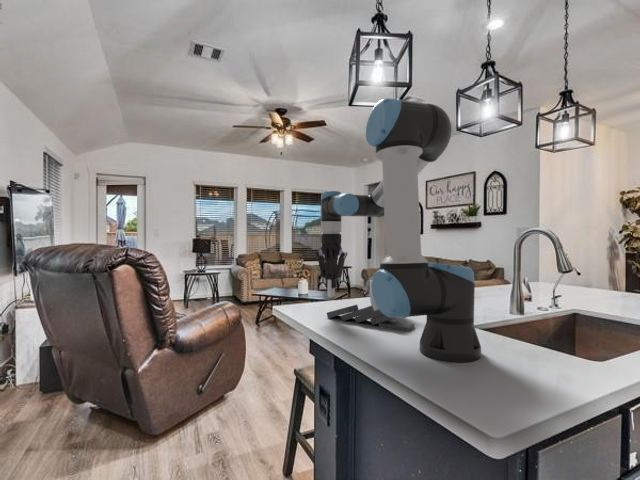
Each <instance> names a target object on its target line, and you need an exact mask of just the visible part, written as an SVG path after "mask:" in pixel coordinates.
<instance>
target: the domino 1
mask: <svg viewBox="0 0 640 480" xmlns="http://www.w3.org/2000/svg"><path fill="white" fill-rule="evenodd" d="M358 306H359V305H358V304H354V305H350V306H345V307H343V308H339V309H335V310H332V311H329V312H326V316H327V319H330V318H334V317H337V316H341V315H344V314H347V313H351V312H354V311H357V310H360V309H359V307H358Z"/></svg>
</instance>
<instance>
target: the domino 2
mask: <svg viewBox="0 0 640 480" xmlns="http://www.w3.org/2000/svg"><path fill="white" fill-rule="evenodd" d="M373 311H374V309H373V306H372V305H370V306H367V307H363V308H360V309H359V310H357V311H353V312H350V313H346V314H342V315H340V318H341V320H342V322H345V321H348V320H350V319H355V317H358V316H361V315H364V314H367V313H370V312H373Z"/></svg>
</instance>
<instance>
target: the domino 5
mask: <svg viewBox="0 0 640 480" xmlns="http://www.w3.org/2000/svg"><path fill="white" fill-rule="evenodd" d="M381 327H383V328H382V329H387V328H389V329H388V330H394V331H400V332H406V333H407V332H409V331H412V330H413V329H415V323H412V322H406V321H399V320H394V319H391V320H388V321H384V322H381V323H378V328H381Z"/></svg>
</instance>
